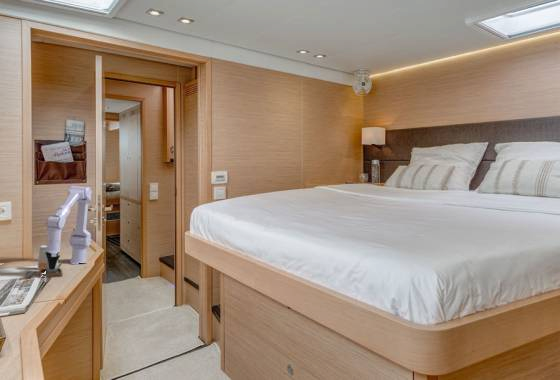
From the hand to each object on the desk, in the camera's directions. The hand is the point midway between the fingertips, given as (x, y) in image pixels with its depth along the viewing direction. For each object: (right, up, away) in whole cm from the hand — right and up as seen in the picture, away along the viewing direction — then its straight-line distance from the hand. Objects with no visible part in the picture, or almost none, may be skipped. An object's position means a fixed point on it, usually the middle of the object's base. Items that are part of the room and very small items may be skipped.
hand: (51, 267), depth 178 cm
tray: (0, -3, 0) cm, 3 cm away
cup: (0, -2, 0) cm, 2 cm away
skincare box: (-8, -3, +8) cm, 12 cm away
